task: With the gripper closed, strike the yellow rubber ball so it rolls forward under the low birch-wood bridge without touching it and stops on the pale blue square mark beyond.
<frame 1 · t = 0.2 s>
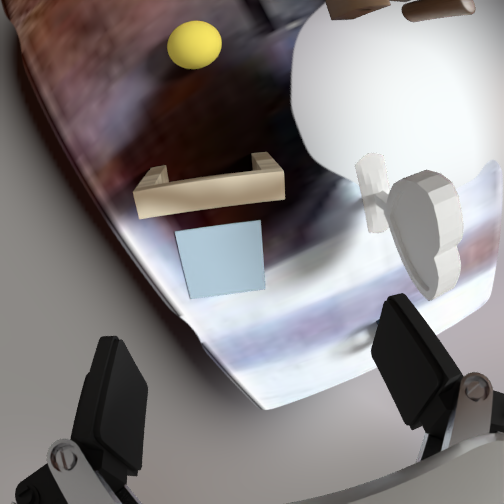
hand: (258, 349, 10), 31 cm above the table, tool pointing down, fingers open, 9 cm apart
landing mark: (222, 261, 44), on the table
heart sculpture: (376, 194, 42), on the table
wooden toy: (371, 1, 26), on the table
bridge: (209, 169, 37), on the table
ball: (194, 44, 26), on the table
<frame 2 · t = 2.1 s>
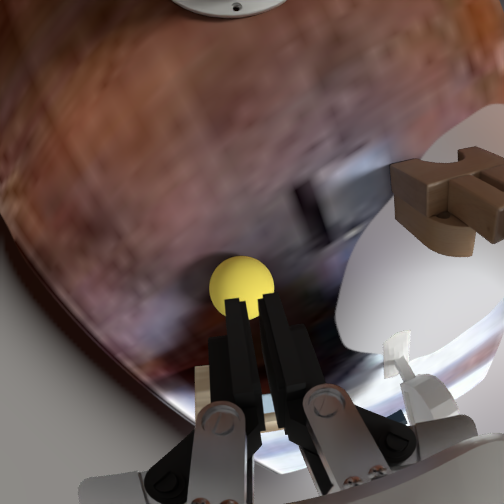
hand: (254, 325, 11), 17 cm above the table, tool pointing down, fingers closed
watch: (392, 416, 58), on the table
heart sculpture: (396, 355, 43), on the table
wooden toy: (442, 179, 28), on the table
bridge: (251, 366, 38), on the table
ball: (241, 288, 28), on the table
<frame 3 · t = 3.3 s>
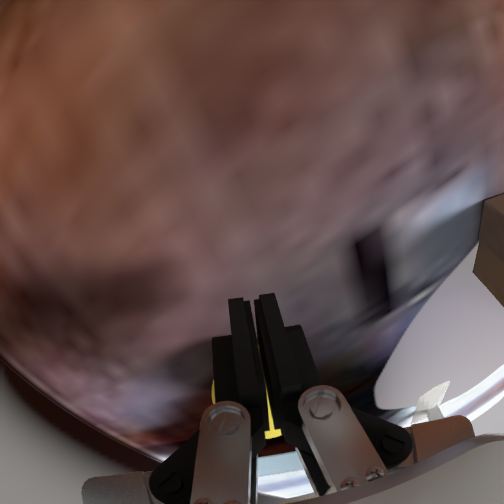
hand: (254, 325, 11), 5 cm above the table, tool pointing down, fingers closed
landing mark: (268, 466, 35), on the table
heart sculpture: (428, 403, 33), on the table
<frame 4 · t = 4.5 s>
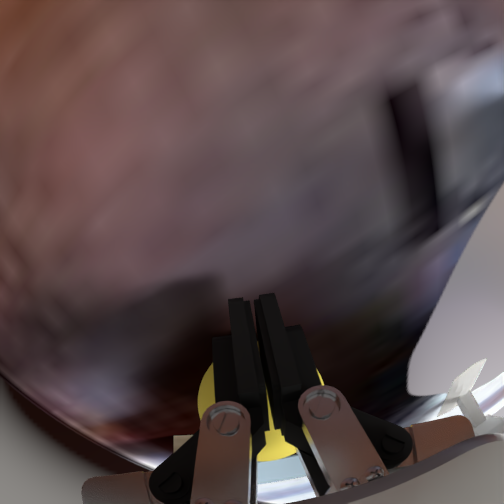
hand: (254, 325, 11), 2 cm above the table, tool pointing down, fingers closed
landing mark: (270, 471, 29), on the table
heart sculpture: (459, 390, 26), on the table
ball: (262, 402, 13), on the table
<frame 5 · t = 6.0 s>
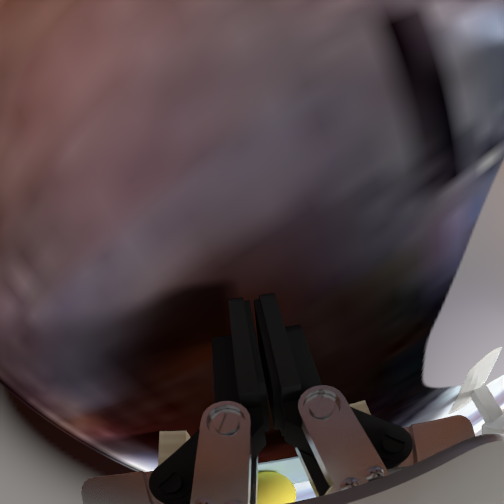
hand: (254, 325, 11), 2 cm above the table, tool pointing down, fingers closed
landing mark: (270, 475, 26), on the table
heart sculpture: (473, 383, 24), on the table
bridge: (264, 431, 19), on the table
ball: (266, 495, 22), on the table
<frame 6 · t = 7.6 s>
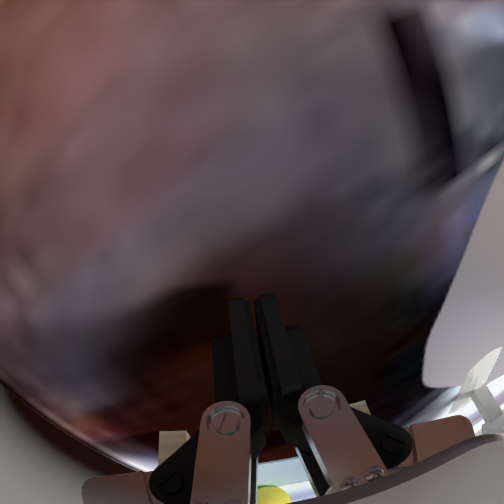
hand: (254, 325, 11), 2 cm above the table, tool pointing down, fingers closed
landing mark: (270, 475, 26), on the table
heart sculpture: (473, 383, 24), on the table
bridge: (264, 431, 19), on the table
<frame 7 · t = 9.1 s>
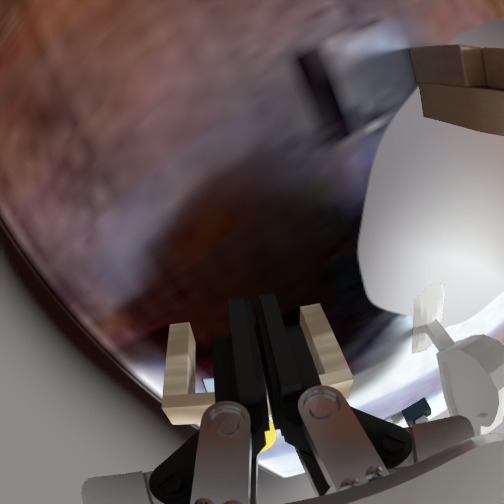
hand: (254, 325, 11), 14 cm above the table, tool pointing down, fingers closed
watch: (413, 406, 49), on the table
heart sculpture: (427, 320, 34), on the table
wooden toy: (468, 82, 19), on the table
bridge: (246, 326, 29), on the table
ball: (255, 434, 36), on the table
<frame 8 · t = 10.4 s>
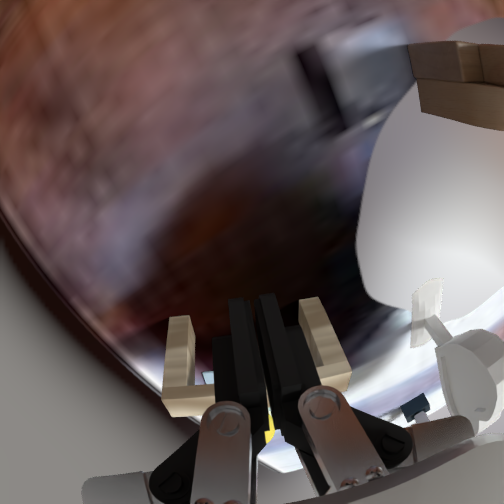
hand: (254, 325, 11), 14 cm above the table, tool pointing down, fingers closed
watch: (412, 402, 49), on the table
heart sculpture: (425, 315, 35), on the table
wooden toy: (466, 78, 19), on the table
bridge: (245, 319, 30), on the table
ball: (254, 428, 37), on the table
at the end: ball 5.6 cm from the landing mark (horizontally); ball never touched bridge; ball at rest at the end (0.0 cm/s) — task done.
